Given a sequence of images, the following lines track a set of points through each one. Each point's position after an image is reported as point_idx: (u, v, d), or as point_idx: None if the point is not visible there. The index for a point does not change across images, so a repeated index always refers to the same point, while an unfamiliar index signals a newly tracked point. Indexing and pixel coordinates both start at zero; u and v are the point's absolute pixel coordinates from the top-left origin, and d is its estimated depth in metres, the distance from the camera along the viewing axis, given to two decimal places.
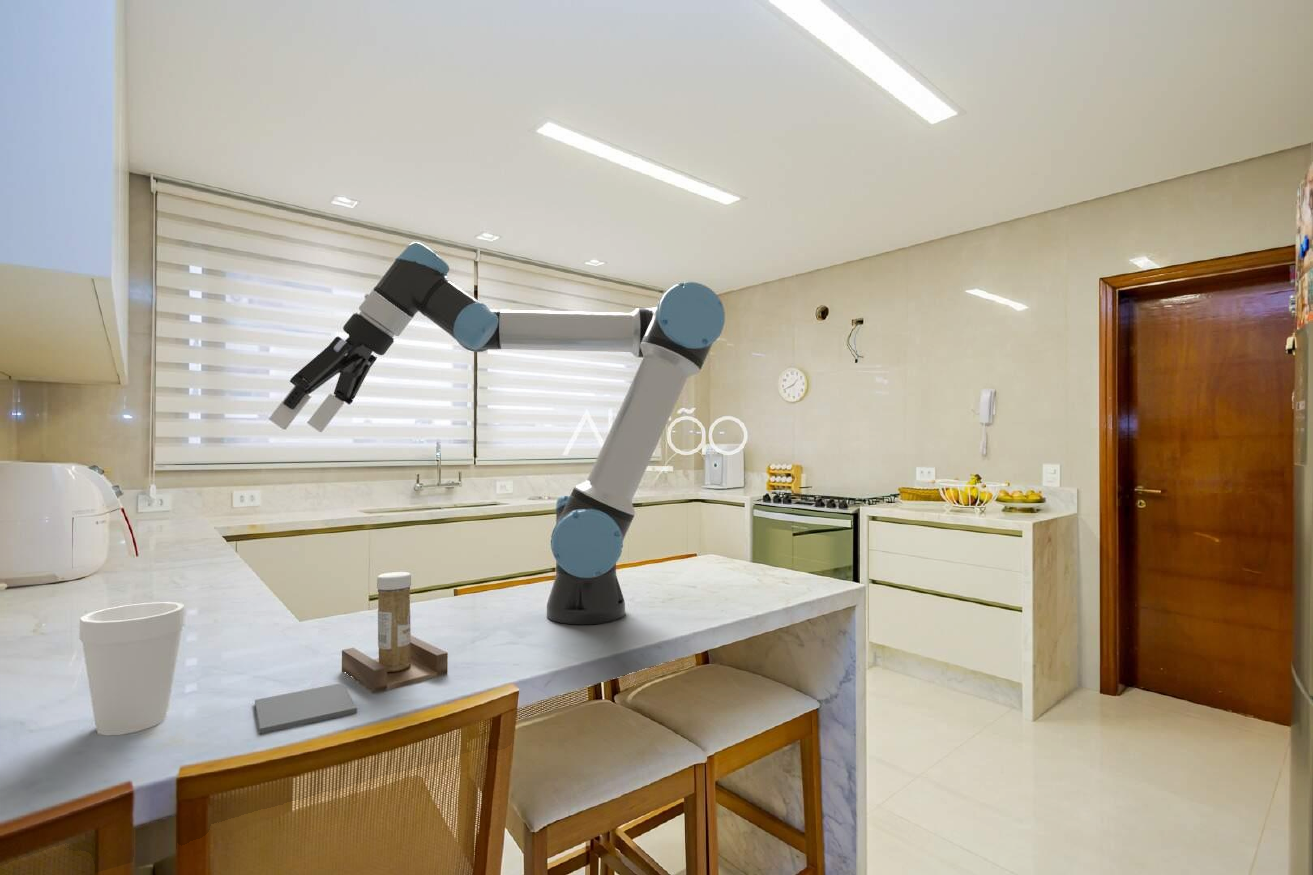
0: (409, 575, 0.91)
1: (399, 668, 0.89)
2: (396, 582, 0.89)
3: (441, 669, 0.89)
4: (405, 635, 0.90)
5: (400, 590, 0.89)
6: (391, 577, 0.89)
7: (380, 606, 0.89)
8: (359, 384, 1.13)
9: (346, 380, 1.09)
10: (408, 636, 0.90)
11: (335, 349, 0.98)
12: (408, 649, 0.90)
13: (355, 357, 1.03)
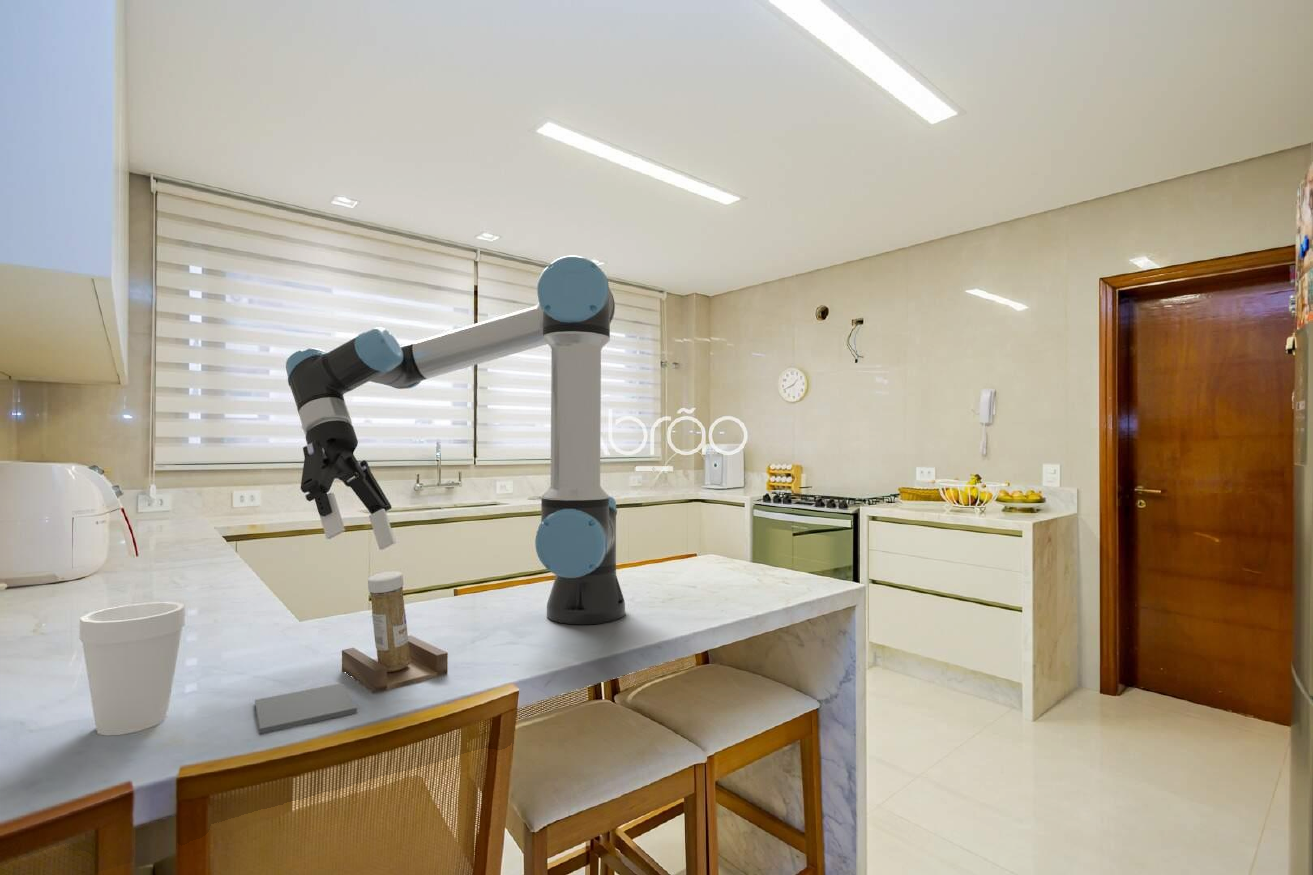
0: (400, 575, 0.89)
1: (399, 668, 0.88)
2: (387, 584, 0.87)
3: (441, 669, 0.89)
4: (402, 635, 0.89)
5: (392, 592, 0.88)
6: (381, 580, 0.87)
7: (373, 608, 0.88)
8: (379, 490, 1.12)
9: (363, 490, 1.08)
10: (405, 635, 0.90)
11: (311, 453, 0.99)
12: (406, 648, 0.90)
13: (338, 454, 1.04)
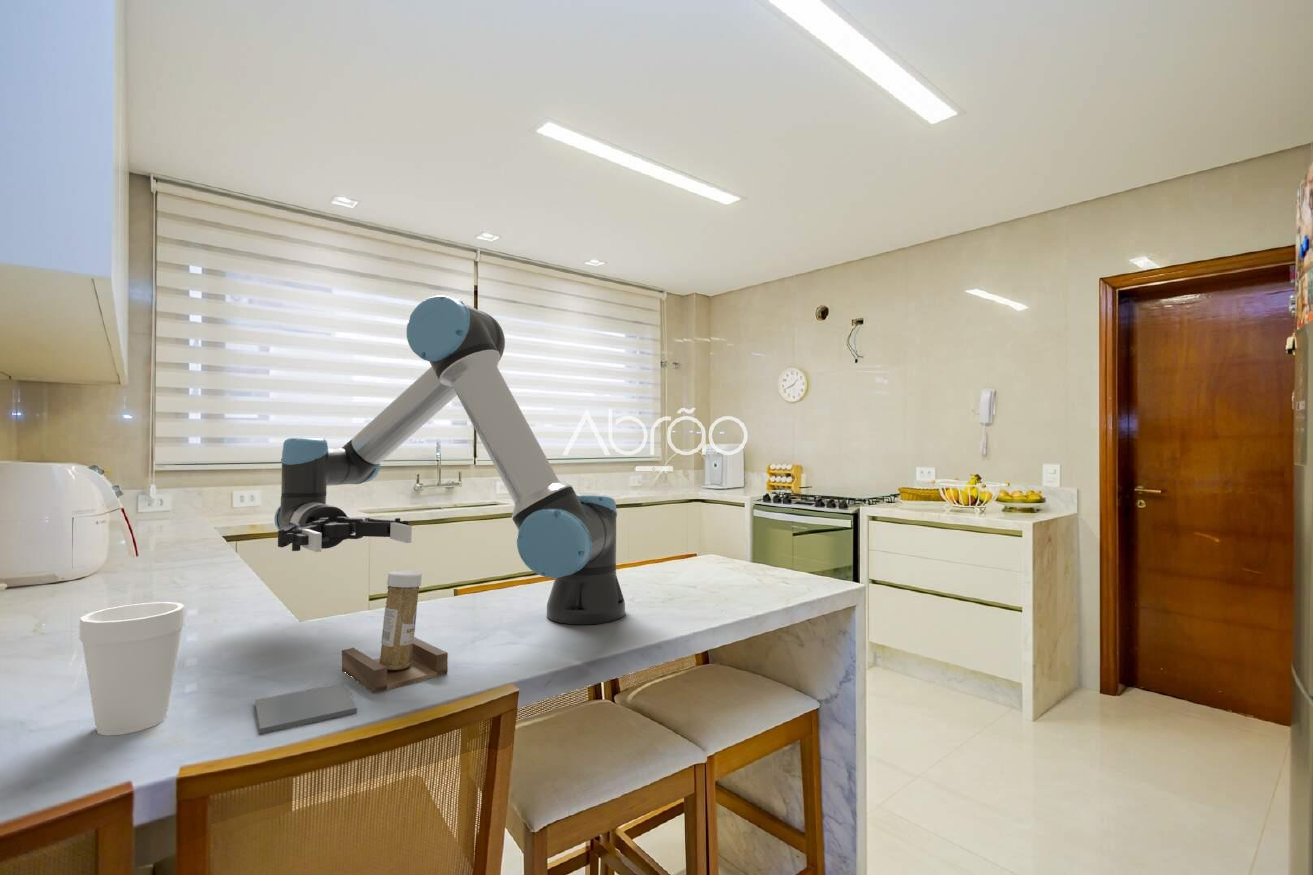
0: (419, 575, 0.91)
1: (399, 667, 0.88)
2: (406, 580, 0.89)
3: (441, 669, 0.89)
4: (409, 634, 0.90)
5: (409, 589, 0.90)
6: (401, 575, 0.89)
7: (388, 602, 0.89)
8: (389, 520, 1.11)
9: (369, 528, 1.08)
10: (411, 636, 0.90)
11: None
12: (409, 649, 0.90)
13: None
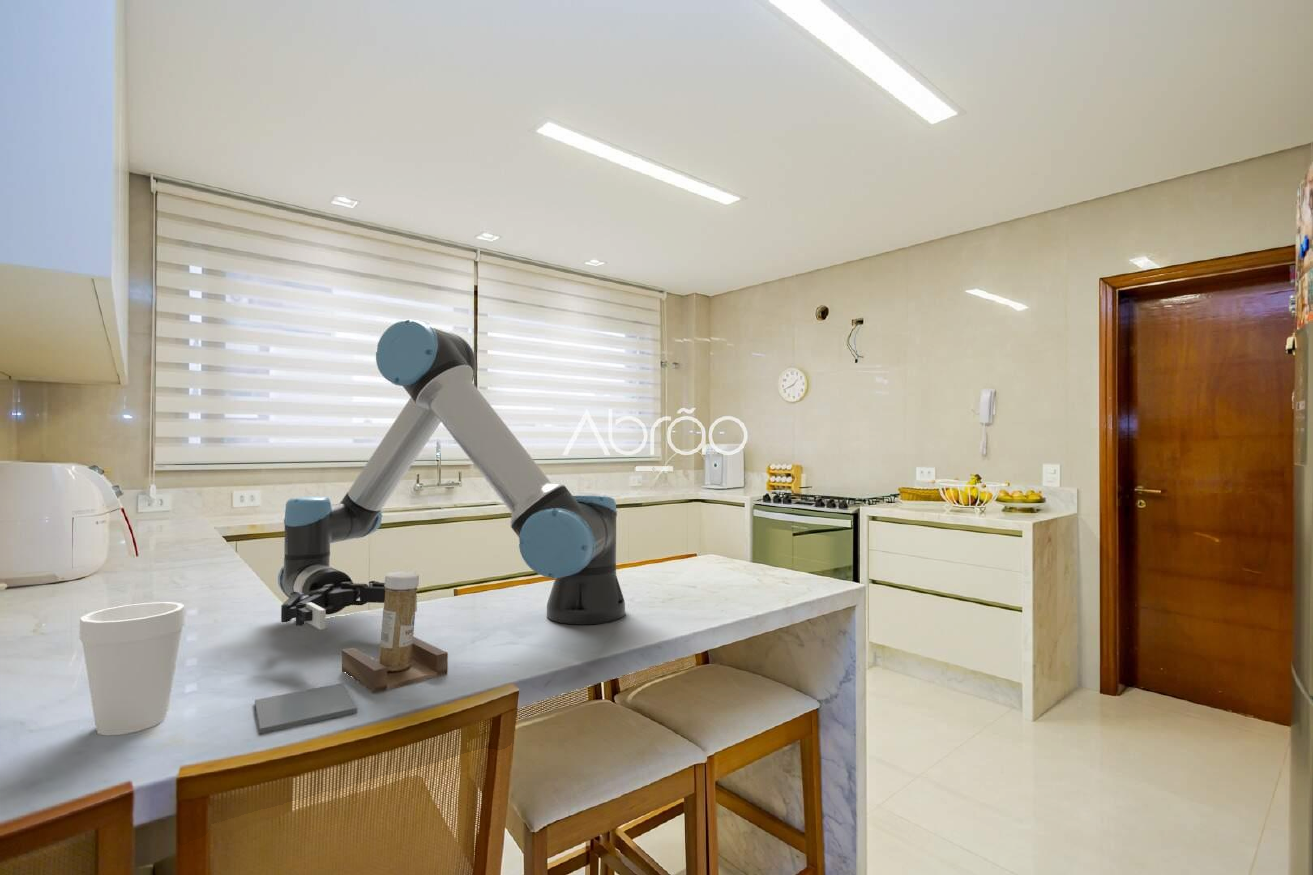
0: (417, 576, 0.91)
1: (399, 669, 0.88)
2: (403, 582, 0.89)
3: (441, 669, 0.89)
4: (408, 636, 0.89)
5: (406, 591, 0.89)
6: (398, 577, 0.89)
7: (385, 604, 0.89)
8: None
9: (373, 593, 1.06)
10: (410, 637, 0.90)
11: None
12: (409, 650, 0.90)
13: None
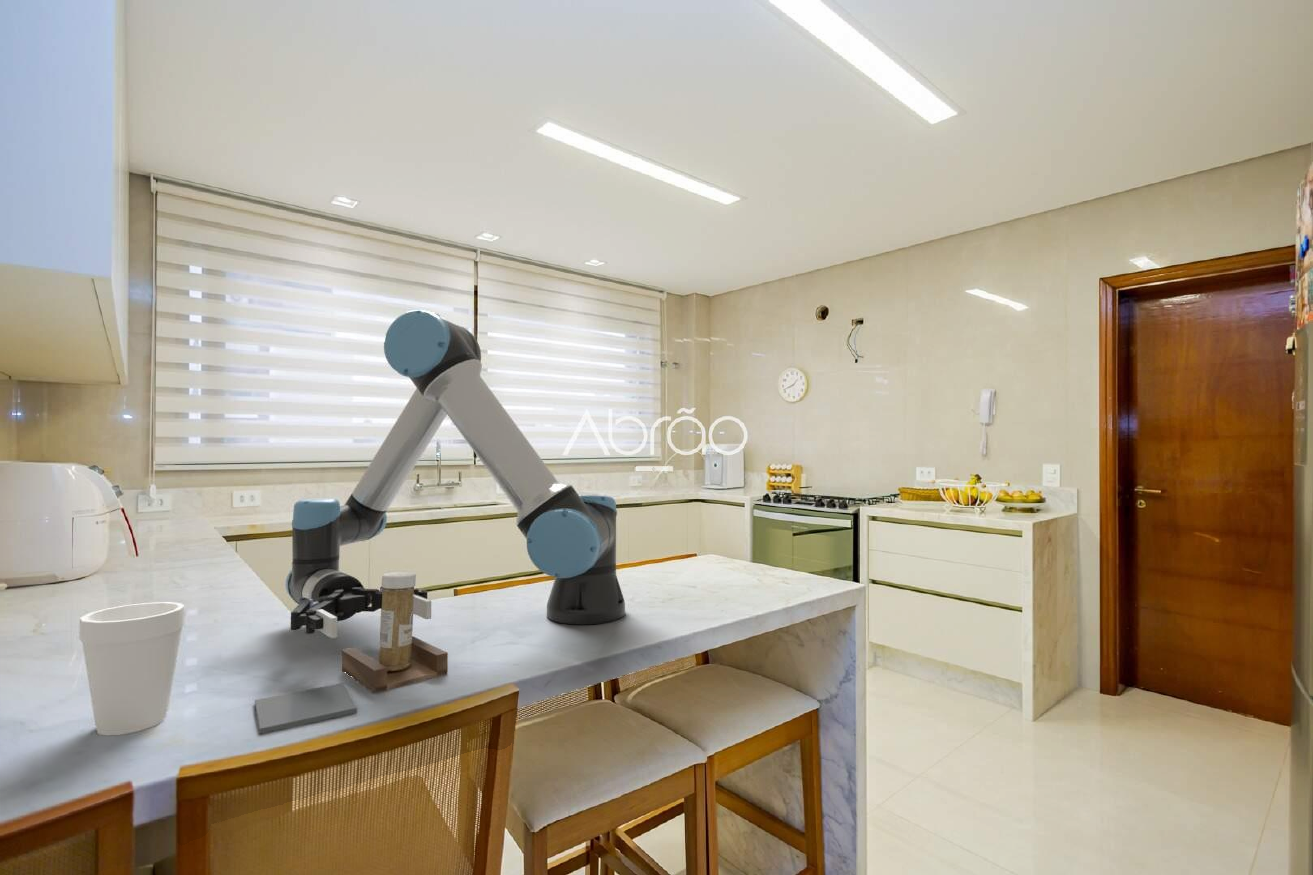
0: (414, 575, 0.91)
1: (399, 668, 0.88)
2: (400, 581, 0.89)
3: (441, 669, 0.89)
4: (407, 635, 0.90)
5: (403, 589, 0.89)
6: (395, 576, 0.89)
7: (383, 604, 0.89)
8: None
9: None
10: (409, 636, 0.90)
11: None
12: (408, 649, 0.90)
13: None
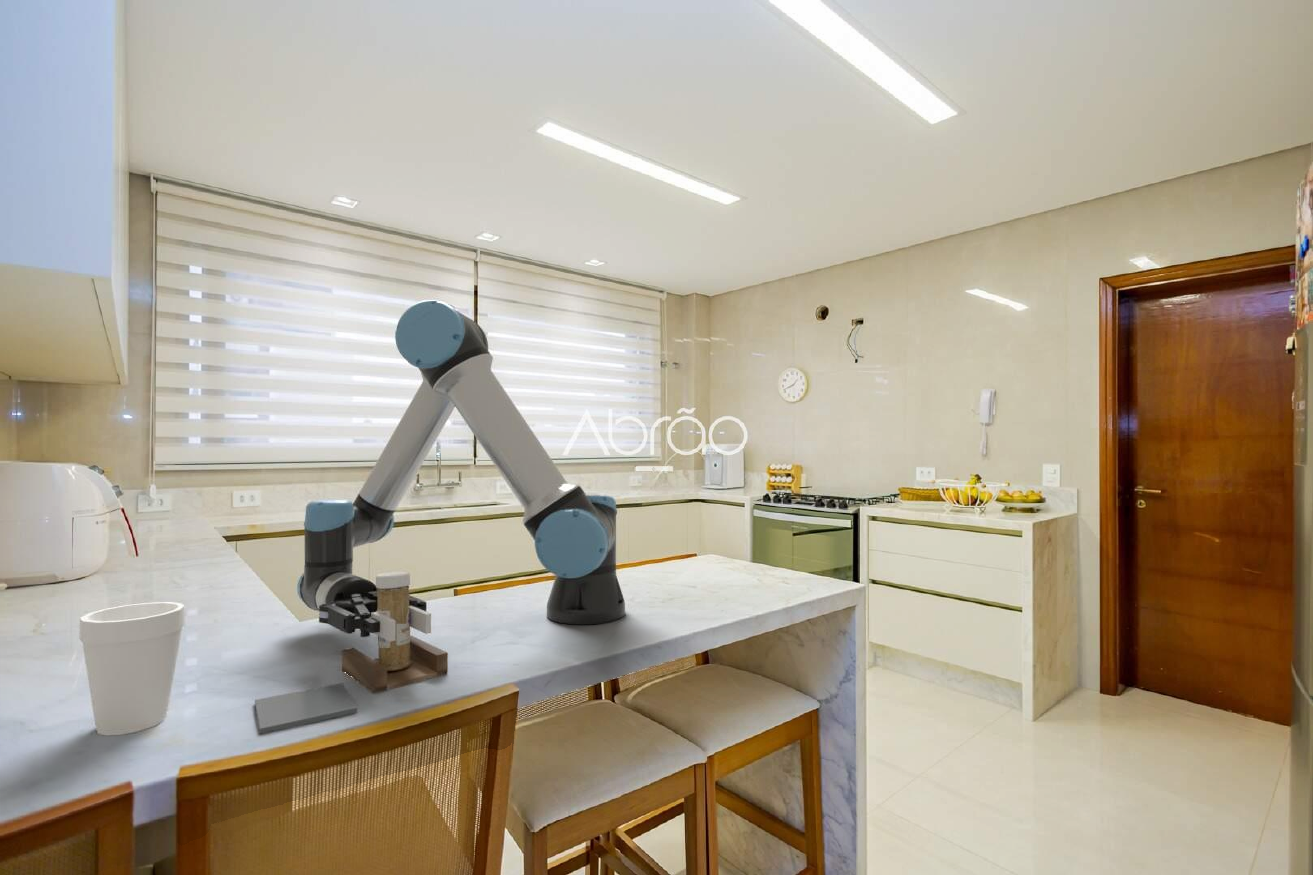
0: (407, 574, 0.91)
1: (399, 667, 0.89)
2: (394, 580, 0.89)
3: (441, 669, 0.89)
4: (405, 634, 0.90)
5: (398, 589, 0.89)
6: (389, 576, 0.89)
7: (379, 605, 0.89)
8: (412, 599, 0.98)
9: None
10: (407, 635, 0.90)
11: (327, 615, 0.93)
12: (407, 648, 0.90)
13: (351, 599, 0.97)
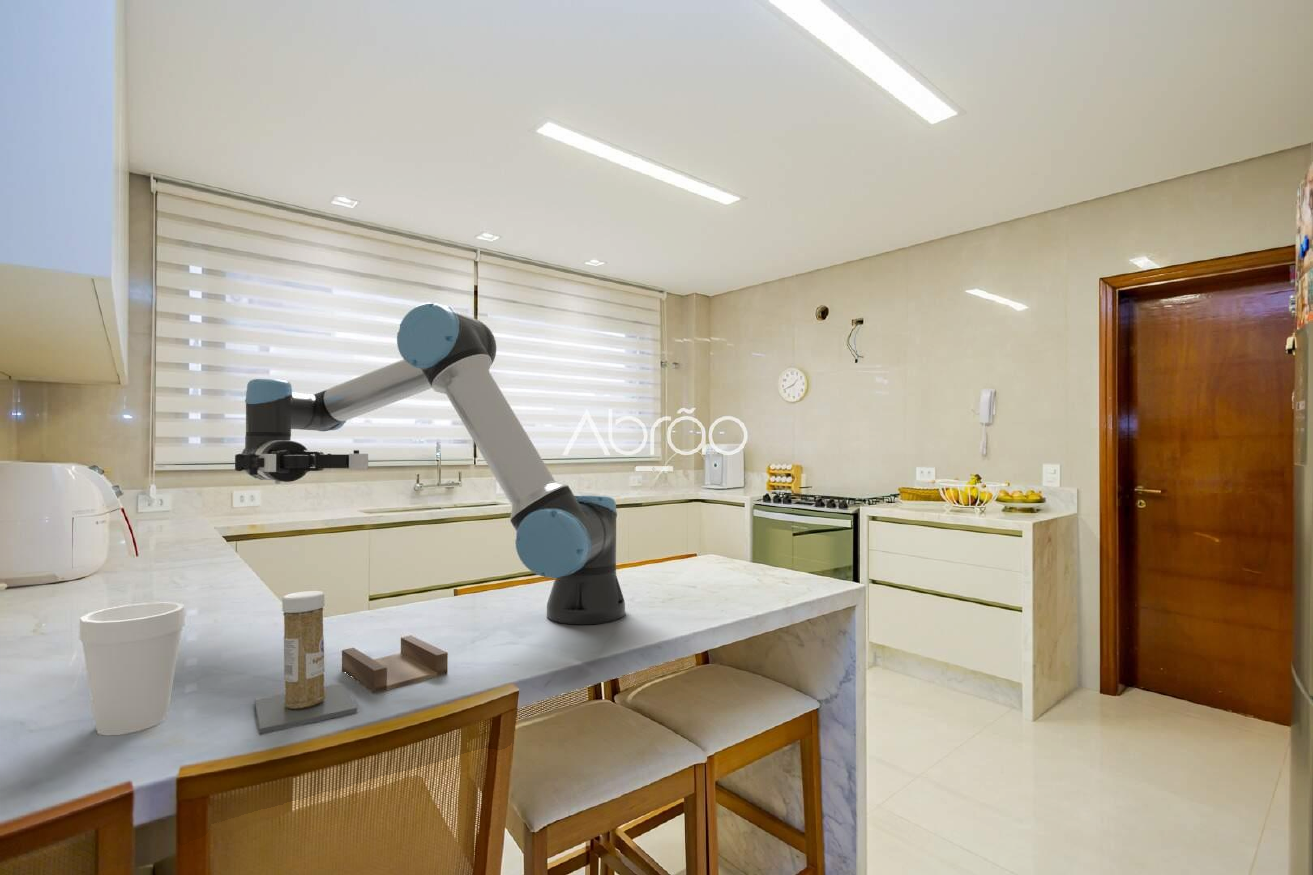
0: (321, 595, 0.78)
1: (309, 704, 0.76)
2: (304, 603, 0.76)
3: (441, 669, 0.89)
4: (316, 664, 0.77)
5: (309, 612, 0.77)
6: (298, 598, 0.76)
7: (285, 632, 0.76)
8: None
9: (328, 459, 1.11)
10: (320, 666, 0.78)
11: None
12: (320, 681, 0.77)
13: None
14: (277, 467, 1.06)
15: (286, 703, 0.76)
